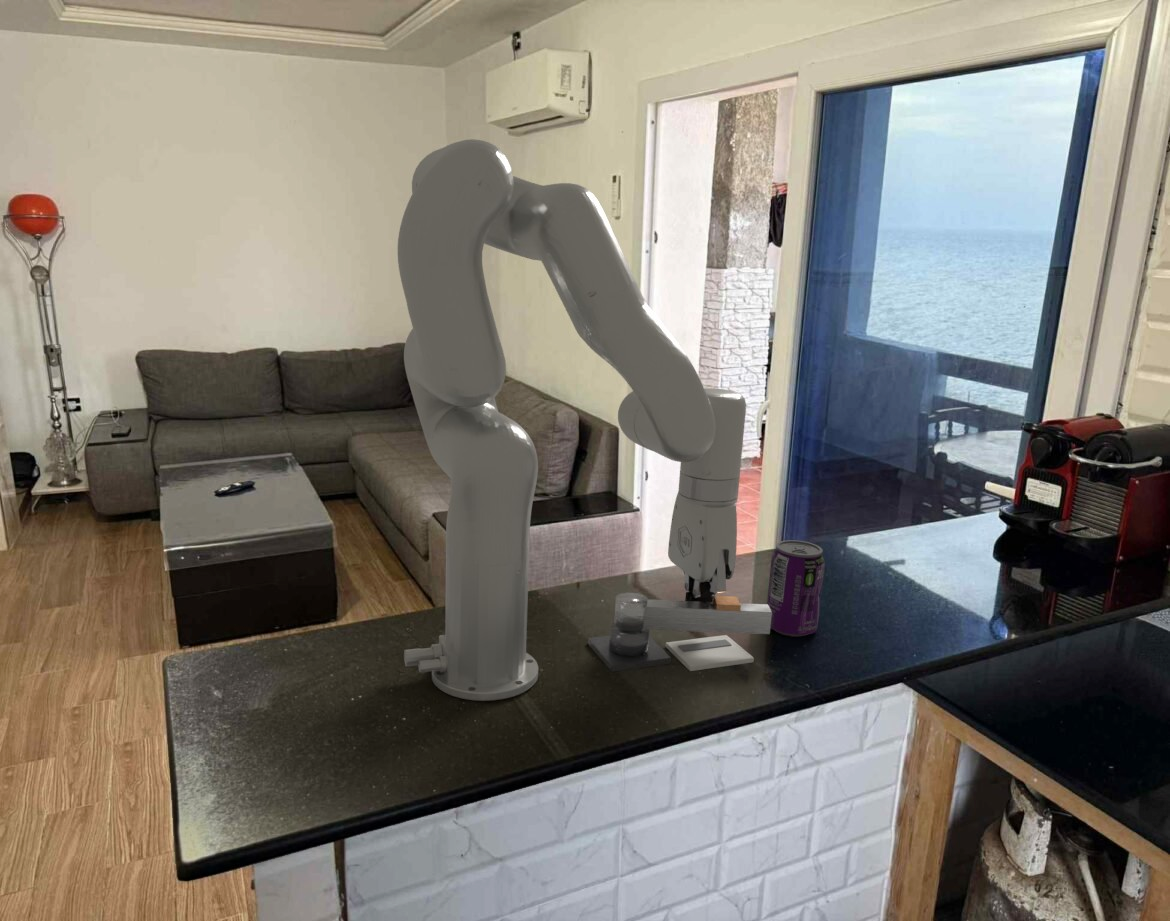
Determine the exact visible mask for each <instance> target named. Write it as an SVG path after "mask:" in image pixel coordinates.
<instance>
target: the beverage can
mask: <svg viewBox="0 0 1170 921" xmlns="http://www.w3.org/2000/svg"><path fill="white" fill-rule="evenodd" d="M823 550H824V549H823V548H822V547H821V546H819V545H818V544H816V543H812V542H809V541H803V540H796V539H794V540H792V539H788V540H787V539H786V540H781V541H778V542H777V543H776V547H775V550H774V552H773V554H772V555H771V560H770V568H769V569H770V570H769V579H768V588H767V589H768V590H767V599H766V600H767V601H766V604H768V605H769V607H770V609H771V611H772V616H771V626H770V629H772V630H774V631H775V632H776V633H778V634H780V635H783V636H787V637H794V638H795V637H797V638H799V637H803V636H804V637H805V636H807V635H810V634H811V635H812V634H814V633H816V632H817V630H818V624H819V616H820V609H821V608H820V607H821V599H822V592H823V591H822V590H823V582H824V581H823V580H824V573H825V565H826V564H825V560H824V558H823V552H824V551H823Z"/></svg>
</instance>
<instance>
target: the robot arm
mask: <svg viewBox="0 0 1170 921" xmlns="http://www.w3.org/2000/svg"><path fill="white" fill-rule="evenodd" d="M411 192H412V194H411V195H410V197H409V200H408V202H407V204H406V208H405V209H404V212H403V216H402V218H401V223H400V226H399V232H398V237H397V264H398V272H399V276H400V281H401V285H402V290H403V294H404V296H405V298H404V299H405V301H406V306H407V311H408V314H409V318H410V323H411V326H412V329H411V330H410V332H409V333H408V336H407V338H406V340H405V344H404V349H403V350H404V351H403V363H404V369H405V374H406V379H407V382H408V385H409V388H410V391H411V395H412V398H413V403H414V406H415V409H416V411H417V415H418V418H419V422H420V424H421V430H422V432H423V435H424V438H425V441H426V445H427V447H428V449H429V452H430V454H431V456H432V458H433V460H434V461H435V463H436V464H437V466H438V467H439V468H440V470H442V471H443V472H444V473H445V475H447V476H448V478H449V479H450V495H449V502H448V506H447V516H446V526H445V527H446V528H445V609H444V610H445V611H444V612H445V615H444V616H445V617H444V618H445V623H444V624H445V625H444V626H445V632H444V633H445V634H440V635H439V636H438V643H433V644H431V645H430V647H426V648H420V647H418V648H412V649H411V648H409V649H404V650H403V651H404V652H403V660H404V666H405V667H413V666H417V667H418V672H419V674H424V673H429V672H431V681H432V682H433V684H434V685H435V687H437V689H439V690H440V691H442V692H444V693H445V694H448V695H449V696H452V697H455V698H458V699H464V700H468V701H469V700H470V701H481V702H487V701H498V700H505V699H509V698H512V697H515V696H518V695H521V694H523V693H525V692H526V691H529V689H530V688H532V687H533V686H534V685H535V684H536V682H537V681H538V678H539V665H538V664H539V663H538V662H537V660H536V659H535V658H534V657H533V656H532V655H531V654H529V653H528V652H527V626H528V600H529V599H528V597H529V596H528V595H529V570H530V569H529V567H530V563H529V562H530V538H531V536H530V534H531V533H530V531H531V520H532V519H531V518H532V509H533V502H534V498H535V493H536V488H537V483H538V482H537V480H538V472H539V459H538V453H537V450H536V447H535V446H536V445H534V442H533V440H532V438H531V437H530V435H529V434H528V432H527V431H526V430H525V429H524V428H523V427H522V426H521V425H520V424H519V423H518V422H516V421H515V420H513V419H512V418H510V417H508V416H507V415H505V414H503V413H501V412H499V410H498V409H499V408H498V406H497V402H496V396H497V395H498V394H499V392H501V390H502V388H503V385H504V382H505V379H506V376H507V375H506V374H507V364H506V357H505V352H504V349H503V346H502V343H501V339H500V336H499V332H498V328H497V324H496V321H495V317H494V314H493V310H492V307H491V303H490V298H489V295H488V290H487V285H486V279H485V274H484V270H483V269H484V267H483V250H484V246H485V245H487V246H489V247H491V248H495V249H498V250H501V251H504V252H506V253H510V254H513V255H516V256H519V257H523V258H526V259H529V260H533V261H539V262H540V261H541V263H542V265H543V267H544V269H545V271H546V273H547V275H548V276H549V279H550V280H551V283H552V285H553V286H554V289H555V291H556V293H557V295H558V297H559V299H560V301H561V302H562V305H563V307H564V308H565V311H566V313H567V315H568V316H569V320H570V321H571V323H572V324H573V328H574V329H575V331H576V333H577V335H579V337H580V338H581V340H582V341H583V342H584V343H585V344H586V345H587V346H588V347H589V349H591V350H592V351H593V352H594V353H595V354H597V355H598V356H599V357H600V358H601V359H603V360H604V361H605V362H606V363H607V364H609V365H610V366H611V367H612V368H613V369H614V370H616V372H617V373H618V374H619V375H620V376H621V377H622V378H623V380H624V381H625V382H626V383H627V385H628V386H629V387H630V388H631V390H632V391H631V392H629V393H628V394H627V395H626V396H625V397H624V398H623V399H622V401H621V403H620V404H619V406H618V411H617V421H618V422H617V423H618V424H619V428H620V429H621V431H622V433H623V434H624V435H625V436H626V437H627V439H629V440H630V441H632V442H633V443H634V444H637V445H639V446H640V447H642V448H645V449H646V450H649V451H651V452H654V453H655V454H658V455H659V456H663V457H664V458H667V459H669V460H671V461H674V462H679V463H680V467H679V480H678V491H677V493H676V498H675V500H674V501H675V503H674V506H673V511H672V517H671V522H670V531H669V539H668V540H669V541H668V550H667V555H668V559H669V560H670V561H671V563H672V564H674V565H675V566H676V567H677V568H679V569H680V570H682V571H683V574H684V577H683V578H684V579H683V580H684V581H683V582H684V589H685V599H684V601H698V602H713V596H717V594H719V593H720V594H721V593H726V592H727V580H730V579H731V578H732V577H733V575H734V572H735V569H736V568H735V567H736V558H737V546H738V545H737V537H738V519H737V518H738V514H737V504H736V503H738V501H739V500H738V498H739V488H740V476H741V465H742V456H743V444H744V435H745V434H744V433H745V423H746V412H747V402H746V399H745V397H744V396H743V395H742V394H741V393H739V392H738V391H734V390H730V389H725V388H724V389H723V388H709V387H708V388H706V387H705V388H704V386H703V383H702V381H701V379H700V376H699V374H698V372H697V371H696V369H695V366H694V365H693V363H692V362H691V360H690V359H689V357H688V355H687V354H686V352H685V351H684V349H683V348H682V346H681V345H680V344H679V343H678V341H677V340H676V339H675V338H674V336H673V335H672V334H671V332H670V331H669V330H668V329H667V327H666V325H664V324H663V321H661V319H660V318H659V317H658V316H657V314H656V313H655V311H653V310H652V309H651V307H650V306H649V305H648V303H647V302H646V300H645V298H644V296H643V294H642V291H641V289H640V288H639V286H638V283H637V281H636V278H635V277H634V274H633V273H632V271H631V268H630V266H629V264H628V261H627V259H626V257H625V254H624V253H623V251H622V248H621V245H620V243H619V241H618V239H617V237H616V235H615V233H614V230H613V228H612V226H611V223H610V221H609V220H608V217H607V215H606V213H605V211H604V209H603V207H602V205H601V204H600V201H599V200H598V198H597V197H596V196H595V195H594V193H593V192H591V190H589V189H588V188H586V187H584V186H582V185H580V184H576V183H571V182H570V183H568V182H567V183H566V182H565V183H564V182H563V183H562V182H561V183H553V184H546V185H542V184H538V183H535V182H532V181H528V180H526V179H522V178H521V177H517V176H514V174H513V169H512V166H511V163H510V161H509V160H508V158H507V156H506V155H505V154H504V153H503V151H502V150H501V149H500V148H499V147H497V146H496V145H494V143H490V142H489V141H485V140H482V139H463V140H459V141H455V142H453V143H450V144H447V145H446V146H444V147H441V148H438V149H436V150H434V151H431V152H430V153H428V154H427V155H426V156H425V157H424V158H423V159H422V160H420V161H419V163H418V165H417V166H416V168H415V170H414V173H413V174H412V180H411Z"/></svg>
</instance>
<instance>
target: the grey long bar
mask: <svg viewBox="0 0 1170 921" xmlns="http://www.w3.org/2000/svg"><path fill="white" fill-rule="evenodd" d="M614 610H615V611H614V622H615V623H614V622H613V623H614V624H615V626H616V627H617V628H619V629H622V630H625V631H639V630H642V629H650V630H656V631H657V630H659V631H663V630H664V631H681V632H682V631H684V632H685V631H686V632H688V631H689V632H706V633H709V632H710V633H711V632H712V633H729V634H730V633H732V634H755V635H756V634H757V635H770V633H771V628H770V626H771V616H772V611H771V609H770V607H769V605H768V604H767V603H765V604H764V603H763V604H762V603H745V602H743V603H741V602H740V601H739V598H738V596H730V595H728V596H727V595H715V596H713V602H698V601H685V600H675V599H674V600H673V599H672V600H671V599H648V597H647V596H645V595H643V594H641V593H637V592H622V593H619V594H617V595H616V596H615V608H614Z"/></svg>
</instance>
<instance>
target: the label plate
mask: <svg viewBox="0 0 1170 921" xmlns="http://www.w3.org/2000/svg"><path fill="white" fill-rule="evenodd" d="M665 648H666V649H667V650H668V651H669V652H670V653H671V654H672V655H673V656H674V657H675V658H676V659H677V660H678V661H679V662H681V664H683V666H685V668H686V669H687V670H689V672H692V671H700V670H707V669H716V668H722V667H729V666H735V665H745V664H750V663H754V661H755V658H754V657H753V656H752V655H751V654H750V653H749V652H748V651H746V650H745V649H744V648H743V647H742V646H740V645H739V644H738V643H737V642H736V641H734V640H733V639H732V638H731V637H730V636H728V635H727V634H722V635H716V636H715V635H714V636H708V637H707V636H706V637H698V638H691V639H684V640H677V641H676V640H675V641H669V642H668V641H666V642H665Z"/></svg>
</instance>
